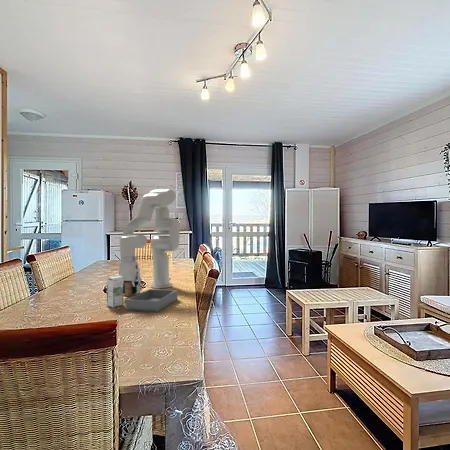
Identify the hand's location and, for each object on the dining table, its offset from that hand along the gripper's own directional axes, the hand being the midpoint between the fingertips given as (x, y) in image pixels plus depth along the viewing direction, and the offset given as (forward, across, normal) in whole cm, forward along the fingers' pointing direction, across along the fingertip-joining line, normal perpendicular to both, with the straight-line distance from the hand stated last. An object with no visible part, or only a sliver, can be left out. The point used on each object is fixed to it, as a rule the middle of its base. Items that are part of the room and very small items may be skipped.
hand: (129, 292), depth 170 cm
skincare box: (+4, +5, -10) cm, 12 cm away
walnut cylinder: (+1, 0, 0) cm, 1 cm away
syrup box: (+3, 0, +13) cm, 13 cm away
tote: (+3, -18, +8) cm, 20 cm away
